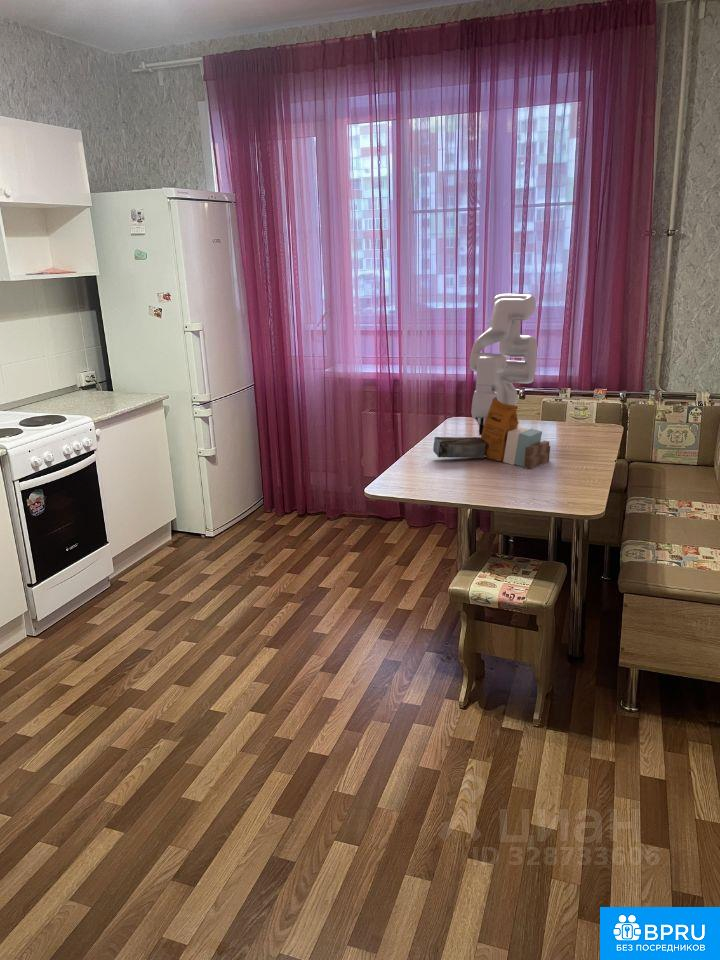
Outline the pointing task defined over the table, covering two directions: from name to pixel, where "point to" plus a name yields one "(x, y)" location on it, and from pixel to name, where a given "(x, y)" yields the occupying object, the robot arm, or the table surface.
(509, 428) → the coffee package
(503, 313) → the robot arm
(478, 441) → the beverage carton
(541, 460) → the brown patterned block
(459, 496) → the table surface
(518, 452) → the book teal
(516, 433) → the book cream
